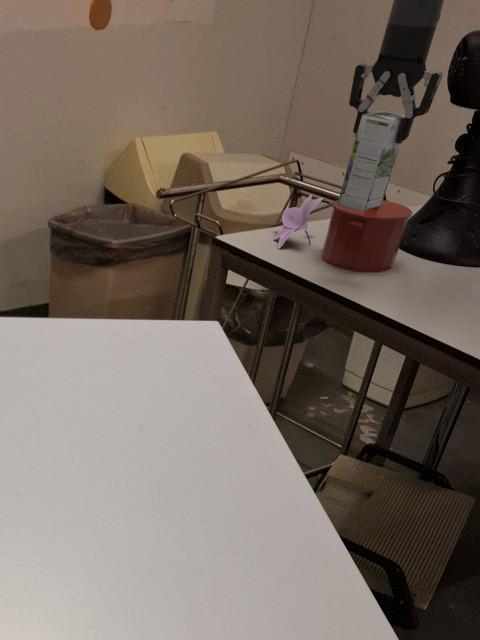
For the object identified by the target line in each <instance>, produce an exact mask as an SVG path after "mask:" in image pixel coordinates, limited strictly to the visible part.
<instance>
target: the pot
mask: <svg viewBox="0 0 480 640" xmlns="http://www.w3.org/2000/svg"><path fill="white" fill-rule="evenodd" d="M408 221H409V218H408V219H404V220H397V221H378V220H368V219H362V218H357V217H352V216H348V215H345V214H342V213H340V212H338V211H336V210H334V209H333V208H332V213H331V217H330V221H329V224H328V227H327V232H326V235H325V239H324V243H323V246H322V251H321V259H322V261H323V262H325V263H327V264H328V265H330V266H333V267H336V268H339V269H344V270H349V271H354V272H362V273H363V272H364V273H367V272H368V273H378V272H379V273H380V272H385V271H388V270H390V269H392V268H393V265H394V264H395V261H396V258H397V256H398V251H399V249H400V246H401V243H402V241H403V236H404V234H405V231H406V228H407V224H408Z"/></svg>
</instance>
